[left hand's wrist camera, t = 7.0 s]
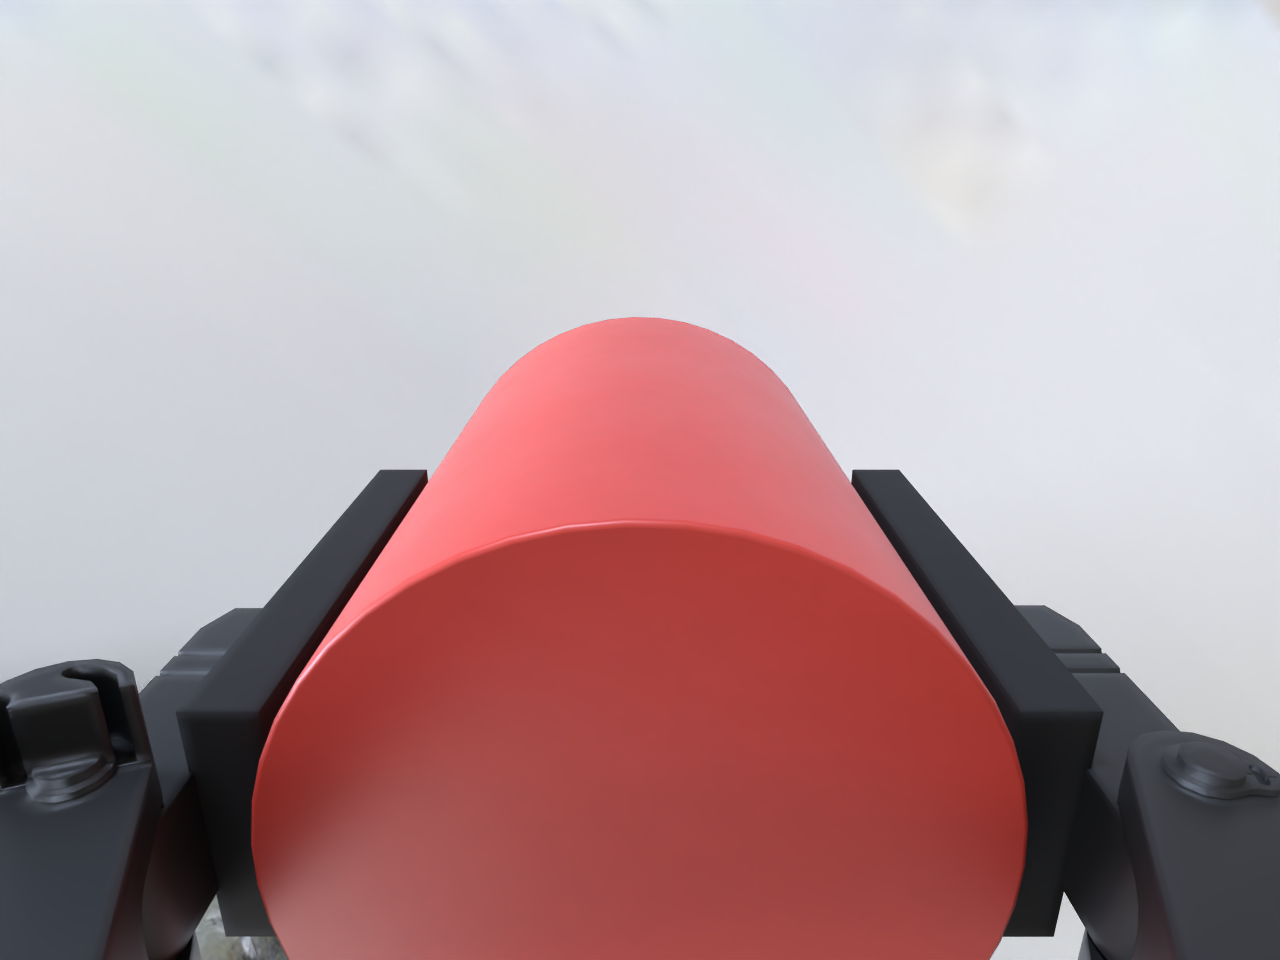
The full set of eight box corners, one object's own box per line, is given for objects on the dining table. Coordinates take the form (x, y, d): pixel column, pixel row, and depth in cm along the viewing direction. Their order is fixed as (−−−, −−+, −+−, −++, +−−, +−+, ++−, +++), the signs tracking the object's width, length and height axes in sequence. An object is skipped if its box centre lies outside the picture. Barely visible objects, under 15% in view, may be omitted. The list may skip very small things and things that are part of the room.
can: (852, 337, 15) (1132, 564, 7) (789, 669, 18) (934, 1158, 9) (463, 297, 15) (221, 478, 6) (453, 640, 17) (268, 1111, 9)
